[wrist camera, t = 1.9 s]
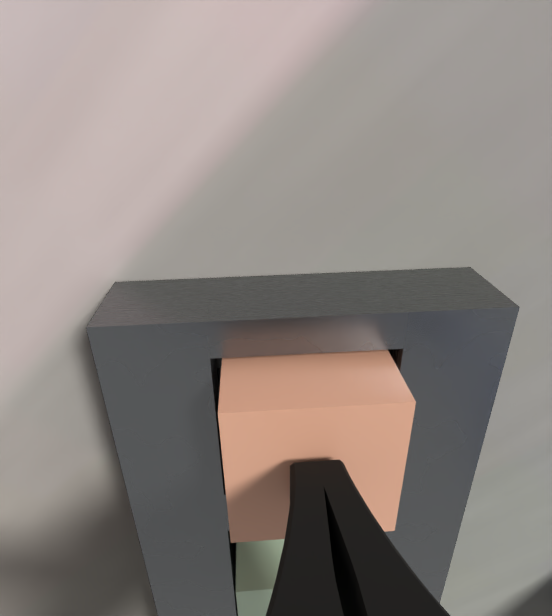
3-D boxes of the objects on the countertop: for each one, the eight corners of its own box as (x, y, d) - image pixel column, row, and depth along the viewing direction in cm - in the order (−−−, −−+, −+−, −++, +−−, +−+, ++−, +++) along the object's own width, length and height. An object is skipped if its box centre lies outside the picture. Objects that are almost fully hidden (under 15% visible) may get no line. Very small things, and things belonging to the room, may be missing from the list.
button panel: (470, 267, 15) (519, 306, 12) (396, 632, 26) (414, 696, 23) (115, 282, 14) (86, 327, 12) (190, 650, 25) (183, 718, 22)
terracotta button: (382, 340, 14) (416, 401, 11) (369, 456, 16) (394, 530, 13) (222, 347, 13) (218, 413, 11) (232, 465, 16) (230, 542, 13)
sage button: (364, 502, 17) (386, 579, 14) (355, 579, 19) (373, 657, 17) (236, 511, 17) (235, 591, 14) (243, 588, 19) (243, 669, 17)
